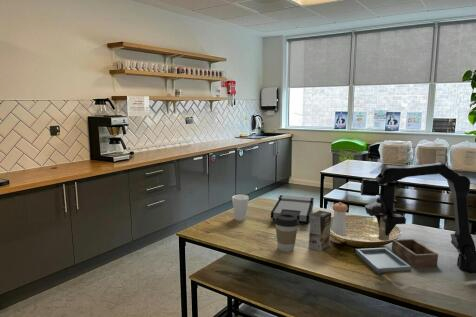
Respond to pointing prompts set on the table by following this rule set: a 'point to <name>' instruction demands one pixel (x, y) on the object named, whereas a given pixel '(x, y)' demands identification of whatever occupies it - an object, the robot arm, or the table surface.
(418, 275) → the table surface
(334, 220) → the pepper shaker
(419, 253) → the pin trough
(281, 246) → the coffee cup
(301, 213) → the office tray
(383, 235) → the dowel pin
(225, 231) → the table surface
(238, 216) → the foam cup
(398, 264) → the tray
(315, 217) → the coffee box
